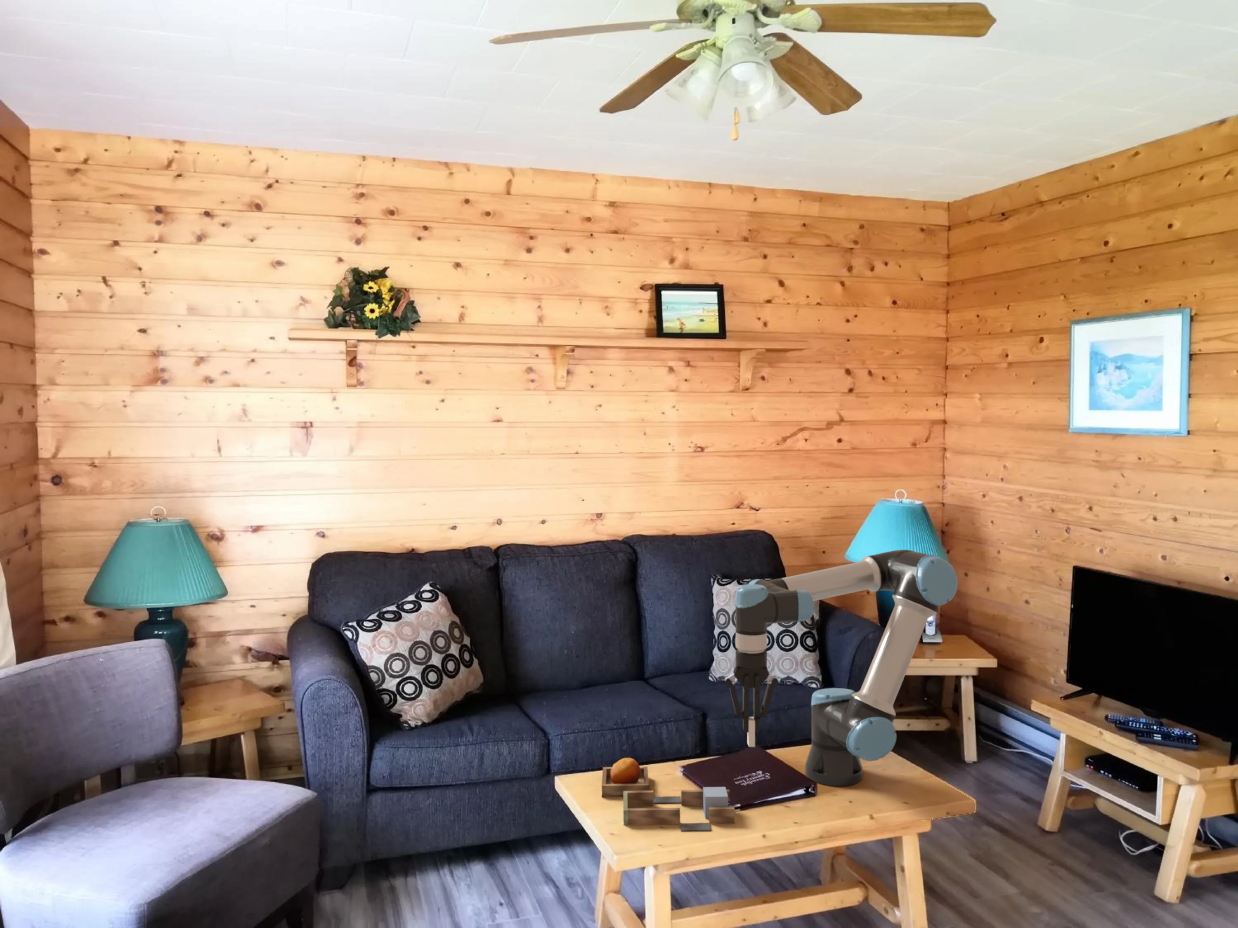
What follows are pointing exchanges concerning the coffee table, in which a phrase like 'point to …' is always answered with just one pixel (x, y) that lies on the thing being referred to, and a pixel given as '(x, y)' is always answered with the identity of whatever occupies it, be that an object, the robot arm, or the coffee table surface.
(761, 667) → the robot arm
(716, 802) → the block
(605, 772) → the tray
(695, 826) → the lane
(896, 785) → the coffee table surface
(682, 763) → the coffee table surface
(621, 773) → the fruit
